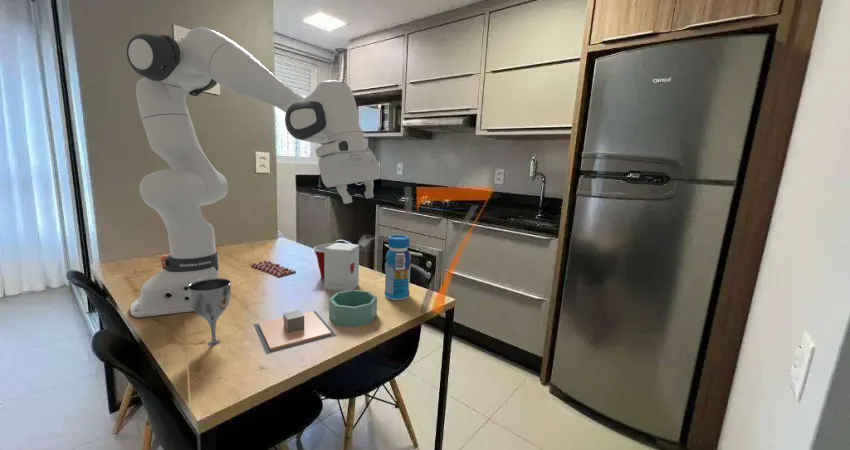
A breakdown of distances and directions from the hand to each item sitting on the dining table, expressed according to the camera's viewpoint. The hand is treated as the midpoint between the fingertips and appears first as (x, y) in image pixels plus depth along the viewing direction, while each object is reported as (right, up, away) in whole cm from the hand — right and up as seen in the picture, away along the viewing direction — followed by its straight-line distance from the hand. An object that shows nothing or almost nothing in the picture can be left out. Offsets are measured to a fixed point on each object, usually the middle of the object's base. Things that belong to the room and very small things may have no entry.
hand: (359, 200), depth 88 cm
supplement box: (-12, -28, +29) cm, 42 cm away
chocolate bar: (-42, -25, +44) cm, 66 cm away
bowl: (-3, -33, +7) cm, 33 cm away
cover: (-16, -33, -3) cm, 37 cm away
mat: (-16, -34, -2) cm, 37 cm away
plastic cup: (-19, -26, +39) cm, 51 cm away
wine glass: (-32, -35, -10) cm, 48 cm away
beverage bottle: (+8, -30, +24) cm, 39 cm away
